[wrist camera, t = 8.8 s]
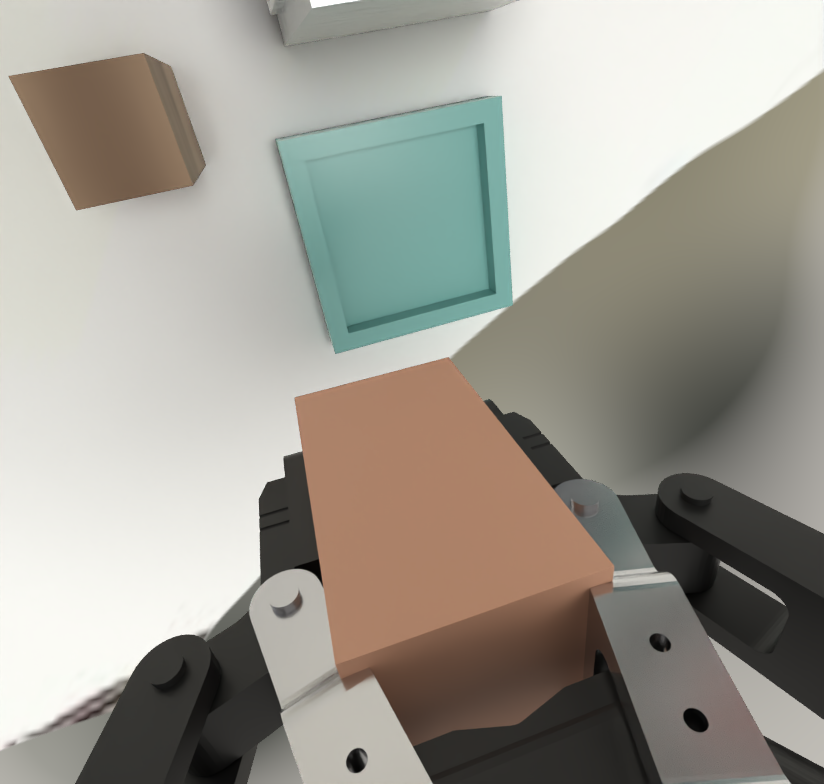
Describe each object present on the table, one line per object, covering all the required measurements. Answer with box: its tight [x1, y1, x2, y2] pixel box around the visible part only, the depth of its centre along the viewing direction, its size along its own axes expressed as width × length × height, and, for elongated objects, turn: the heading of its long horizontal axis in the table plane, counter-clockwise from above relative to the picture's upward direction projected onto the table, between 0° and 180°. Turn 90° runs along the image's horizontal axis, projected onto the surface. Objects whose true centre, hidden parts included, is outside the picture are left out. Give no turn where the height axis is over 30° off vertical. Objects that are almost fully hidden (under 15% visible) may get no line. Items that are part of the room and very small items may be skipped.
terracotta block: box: [295, 357, 614, 746], centre depth 11 cm, size 4×4×7 cm
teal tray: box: [275, 96, 513, 354], centre depth 27 cm, size 11×11×2 cm
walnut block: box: [9, 53, 206, 210], centre depth 20 cm, size 4×4×7 cm
